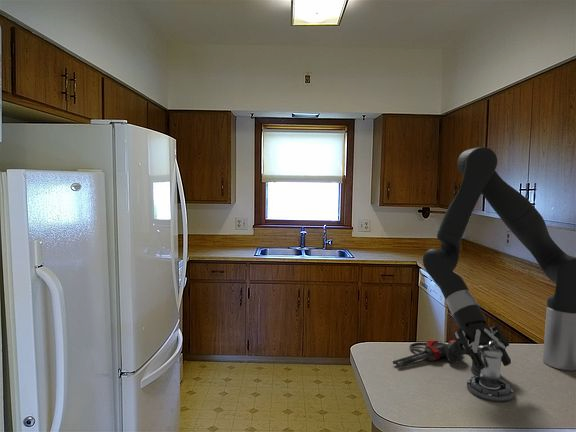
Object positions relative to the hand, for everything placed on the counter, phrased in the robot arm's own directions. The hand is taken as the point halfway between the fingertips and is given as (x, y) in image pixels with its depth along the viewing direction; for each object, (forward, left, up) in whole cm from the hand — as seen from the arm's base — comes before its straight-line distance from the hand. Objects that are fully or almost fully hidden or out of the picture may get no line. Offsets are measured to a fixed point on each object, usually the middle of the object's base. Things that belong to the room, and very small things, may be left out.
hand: (495, 366), depth 106 cm
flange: (0, -1, -7) cm, 7 cm away
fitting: (0, -1, -6) cm, 6 cm away
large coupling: (-7, -10, -7) cm, 14 cm away
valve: (+3, -25, -8) cm, 26 cm away
